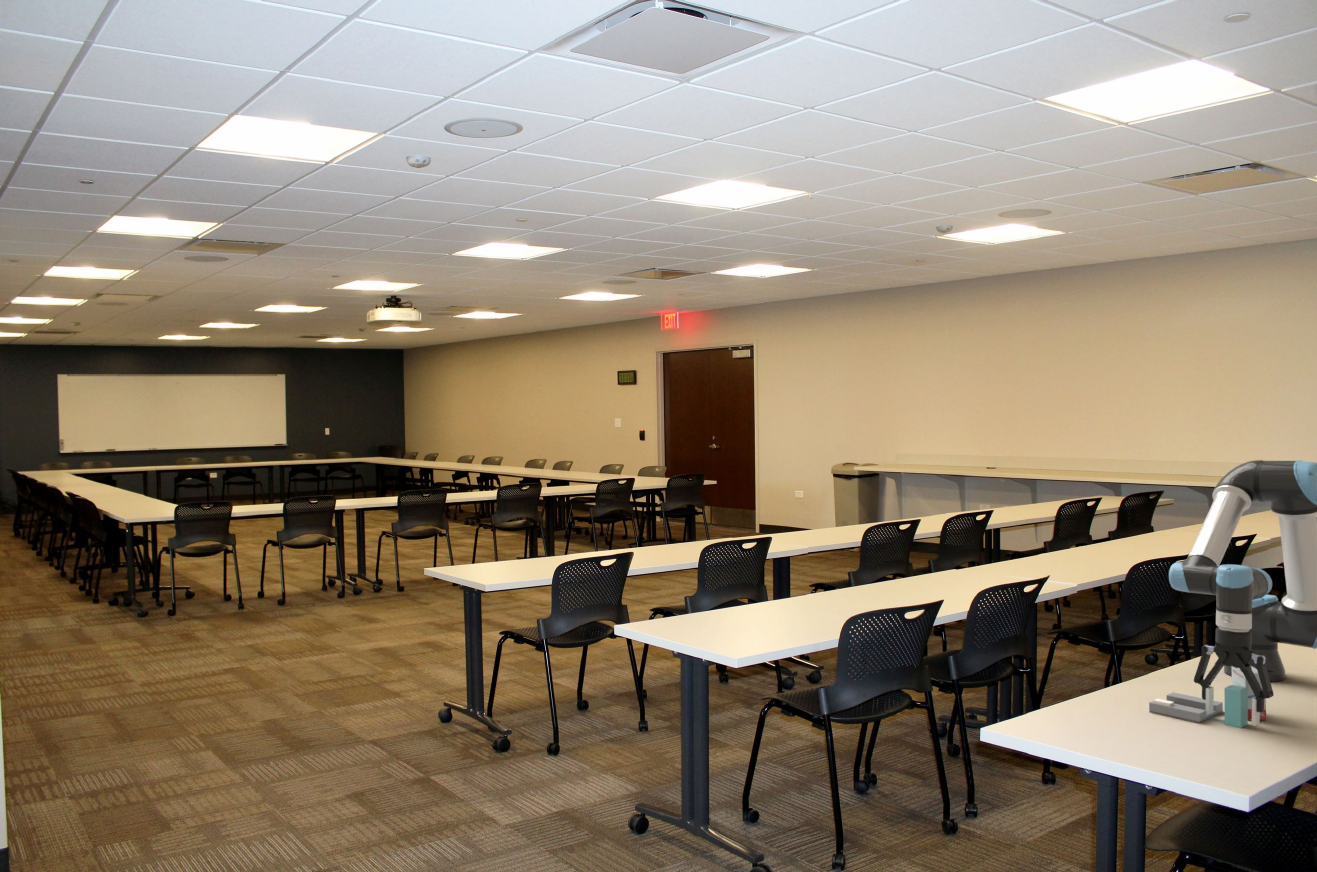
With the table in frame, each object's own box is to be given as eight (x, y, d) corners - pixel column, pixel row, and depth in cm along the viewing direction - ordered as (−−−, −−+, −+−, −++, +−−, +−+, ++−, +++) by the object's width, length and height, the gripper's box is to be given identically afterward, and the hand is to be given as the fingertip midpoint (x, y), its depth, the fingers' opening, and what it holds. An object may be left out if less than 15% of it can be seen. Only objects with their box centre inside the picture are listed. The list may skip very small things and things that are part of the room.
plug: (1232, 720, 230) (1231, 684, 230) (1247, 723, 227) (1247, 687, 227) (1224, 724, 227) (1224, 687, 227) (1240, 727, 225) (1240, 690, 224)
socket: (1173, 701, 246) (1173, 689, 246) (1222, 711, 237) (1222, 699, 237) (1149, 711, 238) (1149, 699, 238) (1199, 723, 228) (1199, 710, 228)
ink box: (1267, 721, 229) (1266, 673, 229) (1245, 720, 230) (1245, 672, 230) (1252, 710, 238) (1252, 664, 238) (1231, 709, 239) (1231, 664, 239)
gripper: (1178, 622, 234) (1177, 710, 234) (1279, 639, 216) (1277, 734, 217) (1191, 618, 238) (1190, 704, 239) (1291, 634, 221) (1289, 727, 221)
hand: (1232, 718), depth 228 cm, fingers open, 10 cm apart
